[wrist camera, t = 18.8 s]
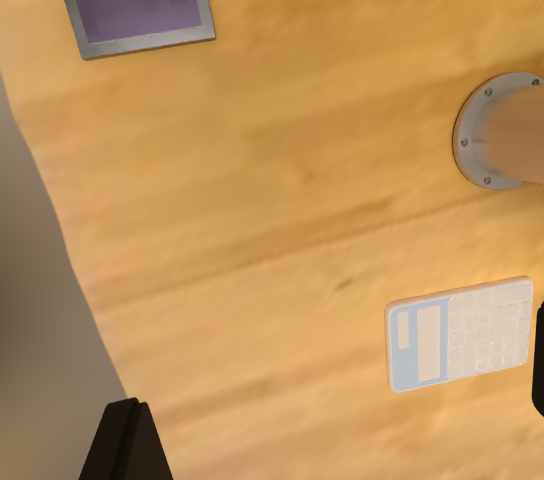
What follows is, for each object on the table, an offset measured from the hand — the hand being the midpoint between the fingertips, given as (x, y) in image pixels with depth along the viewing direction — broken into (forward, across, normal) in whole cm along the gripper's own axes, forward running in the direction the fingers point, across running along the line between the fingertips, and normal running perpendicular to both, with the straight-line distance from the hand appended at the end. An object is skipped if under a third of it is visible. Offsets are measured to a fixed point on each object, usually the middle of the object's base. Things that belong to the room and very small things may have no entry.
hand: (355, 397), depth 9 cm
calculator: (+34, -24, +25) cm, 49 cm away
